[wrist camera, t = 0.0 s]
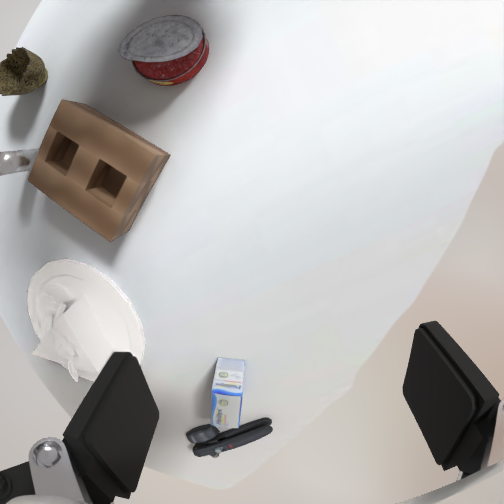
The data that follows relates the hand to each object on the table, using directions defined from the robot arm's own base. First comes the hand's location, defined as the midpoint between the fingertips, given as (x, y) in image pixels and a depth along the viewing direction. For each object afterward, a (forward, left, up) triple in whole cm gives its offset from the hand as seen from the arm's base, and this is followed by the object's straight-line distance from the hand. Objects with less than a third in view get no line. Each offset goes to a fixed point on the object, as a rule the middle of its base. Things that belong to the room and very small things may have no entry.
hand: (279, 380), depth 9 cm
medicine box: (+26, +11, -32) cm, 42 cm away
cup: (0, -42, -31) cm, 52 cm away
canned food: (-11, -22, -32) cm, 40 cm away
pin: (+12, -34, -31) cm, 48 cm away
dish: (+34, -15, -32) cm, 49 cm away
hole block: (+7, -22, -31) cm, 39 cm away
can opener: (+38, +19, -32) cm, 53 cm away
